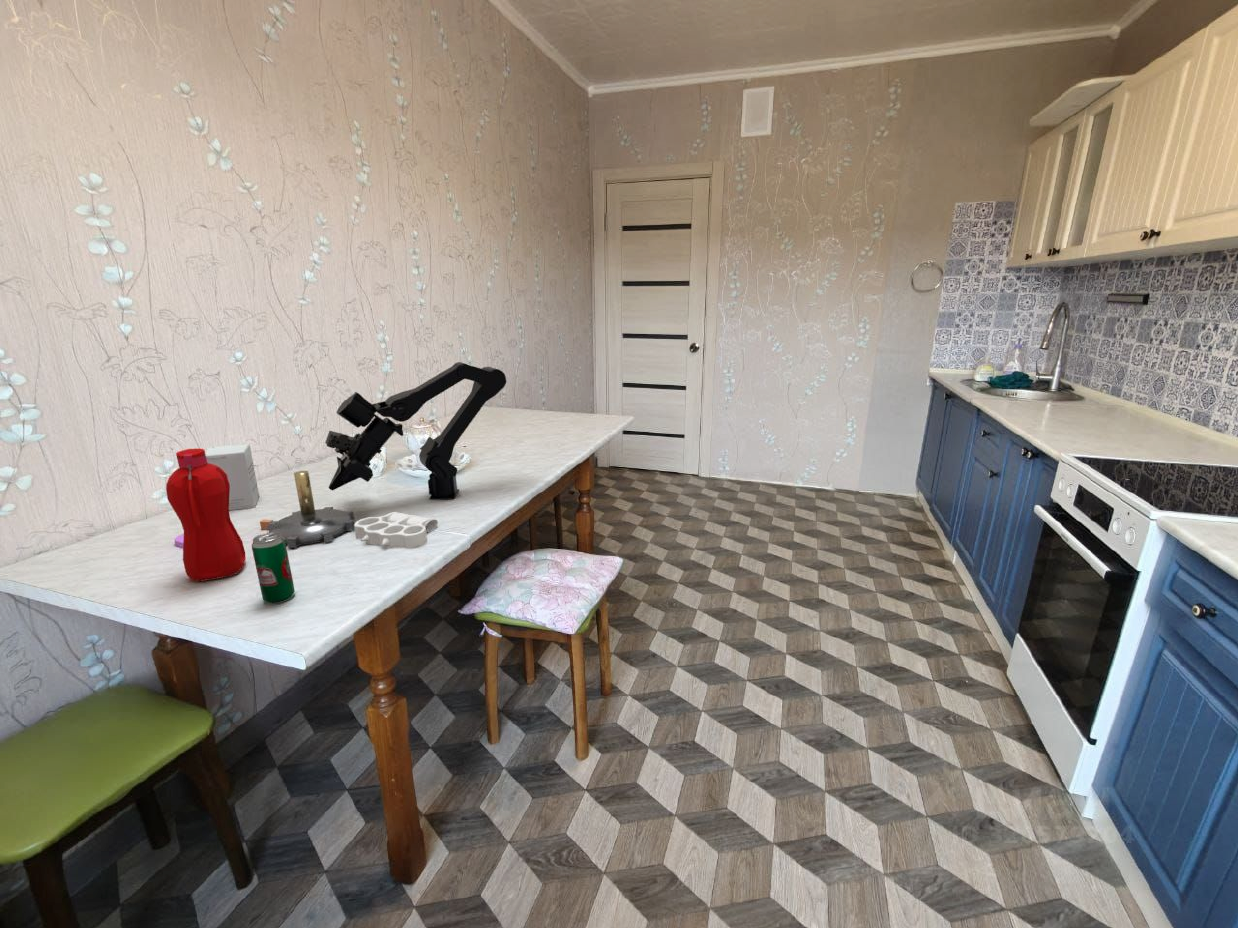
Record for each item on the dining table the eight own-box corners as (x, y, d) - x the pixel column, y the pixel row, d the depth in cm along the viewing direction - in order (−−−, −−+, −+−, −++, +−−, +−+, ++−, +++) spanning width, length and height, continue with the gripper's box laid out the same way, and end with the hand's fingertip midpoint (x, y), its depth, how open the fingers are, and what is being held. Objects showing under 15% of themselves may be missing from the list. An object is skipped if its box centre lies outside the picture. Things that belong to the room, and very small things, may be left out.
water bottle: (181, 591, 105) (148, 462, 98) (196, 565, 115) (167, 446, 107) (239, 581, 109) (211, 456, 101) (249, 557, 118) (224, 441, 111)
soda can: (256, 601, 102) (243, 540, 98) (281, 588, 106) (269, 529, 103) (277, 607, 100) (264, 544, 96) (301, 593, 104) (290, 533, 101)
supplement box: (213, 513, 142) (200, 455, 137) (220, 501, 149) (208, 446, 145) (255, 507, 145) (244, 451, 141) (260, 496, 153) (249, 442, 148)
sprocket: (368, 513, 140) (362, 467, 137) (336, 546, 122) (327, 494, 119) (291, 515, 139) (282, 468, 136) (247, 548, 122) (236, 496, 118)
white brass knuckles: (449, 530, 132) (405, 556, 119) (388, 519, 139) (340, 543, 126) (448, 517, 131) (403, 542, 118) (387, 506, 138) (338, 529, 125)
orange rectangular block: (274, 527, 133) (272, 520, 132) (270, 529, 132) (269, 522, 131) (265, 527, 133) (263, 519, 132) (261, 529, 132) (259, 521, 131)
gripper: (338, 412, 143) (296, 460, 140) (350, 426, 128) (303, 481, 125) (376, 437, 149) (336, 485, 147) (391, 454, 134) (347, 507, 132)
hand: (330, 489), depth 137 cm, fingers closed
